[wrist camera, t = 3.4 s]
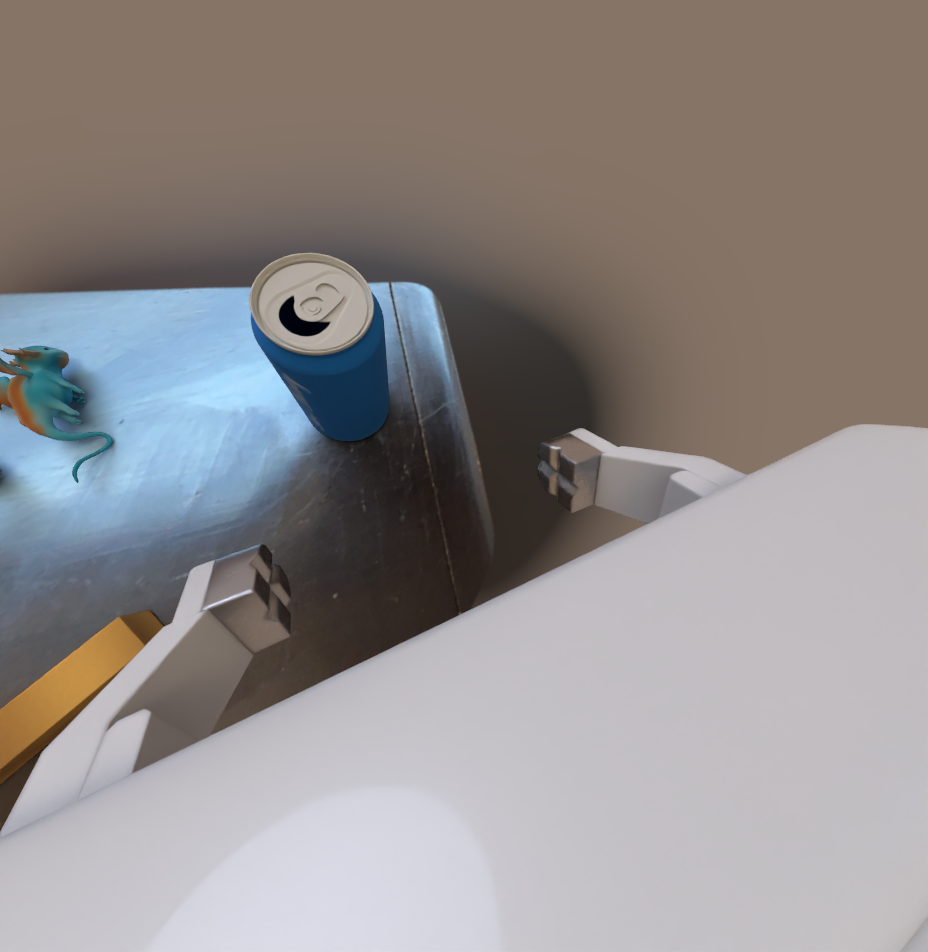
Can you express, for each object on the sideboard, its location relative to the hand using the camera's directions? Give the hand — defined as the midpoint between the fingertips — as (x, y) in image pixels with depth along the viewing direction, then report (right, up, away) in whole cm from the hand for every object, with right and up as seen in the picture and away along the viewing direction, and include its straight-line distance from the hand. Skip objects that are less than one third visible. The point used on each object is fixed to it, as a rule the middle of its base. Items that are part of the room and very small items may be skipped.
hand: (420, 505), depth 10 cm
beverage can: (-8, +6, +18) cm, 21 cm away
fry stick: (-24, -14, +10) cm, 29 cm away
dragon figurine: (-27, +5, +14) cm, 31 cm away
